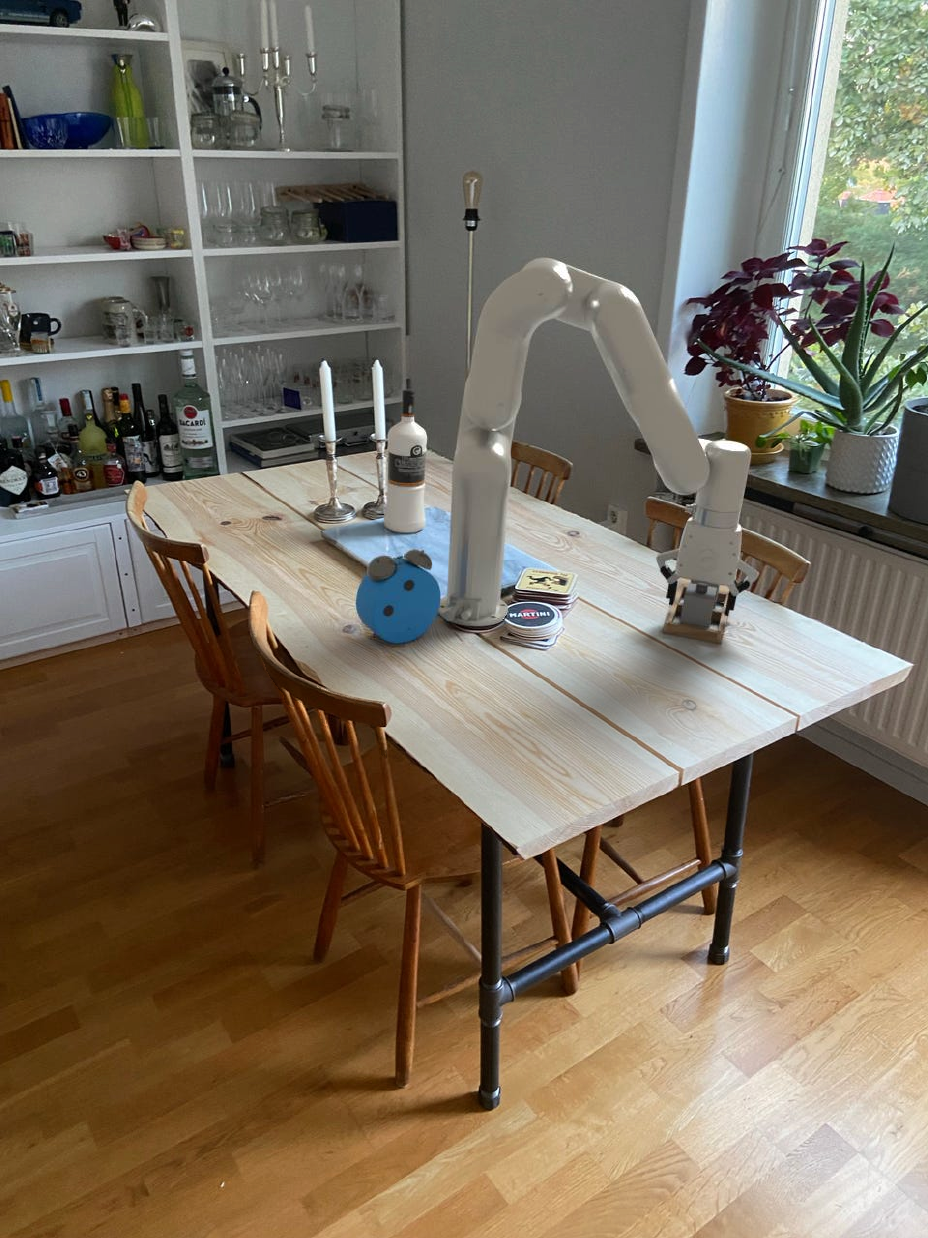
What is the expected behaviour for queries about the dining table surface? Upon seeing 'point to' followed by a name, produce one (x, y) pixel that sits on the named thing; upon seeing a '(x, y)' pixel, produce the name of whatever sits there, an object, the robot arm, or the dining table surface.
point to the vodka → (406, 471)
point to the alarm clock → (398, 597)
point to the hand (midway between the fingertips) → (698, 607)
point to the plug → (698, 605)
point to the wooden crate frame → (695, 631)
